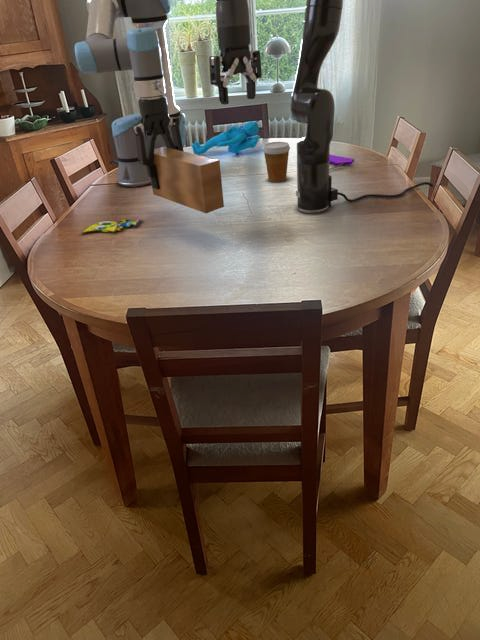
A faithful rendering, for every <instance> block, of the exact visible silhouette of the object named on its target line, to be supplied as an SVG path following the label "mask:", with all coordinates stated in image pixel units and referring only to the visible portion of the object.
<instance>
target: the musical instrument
mask: <svg viewBox="0 0 480 640" xmlns="http://www.w3.org/2000/svg"><path fill="white" fill-rule="evenodd" d="M354 162H355V158H351V157H346V156H340V155H336V154H330V155H329V164H332V165H335V166H334V167H329V171H330V170H333V169H336V168H338V167H341V166H352V164H353V163H354Z"/></svg>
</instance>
